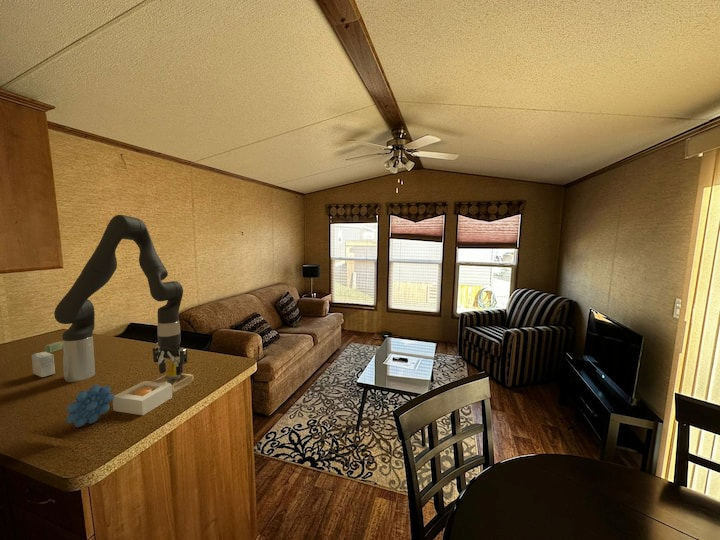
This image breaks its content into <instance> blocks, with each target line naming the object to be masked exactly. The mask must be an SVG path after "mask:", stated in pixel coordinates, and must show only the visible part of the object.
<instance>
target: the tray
mask: <svg viewBox="0 0 720 540" xmlns="http://www.w3.org/2000/svg"><path fill="white" fill-rule="evenodd" d="M165 375H166V374H165ZM165 375H162V376H160V377H158V378H156V379H154V380H152V381H151V382H157V383H165V384H171V383H167V380H168V379H164V377H165ZM194 377H195V376H194V374H191V373H189V374H188V373H183V372H182V374H180V378H178V379H177V380H176V381H175V382H174V383H173V384H172V395H174V394H175V393H177V392H179V391H180V390H181V389H183V388H184V387H187V386H188V385H189V384H191V383H192V382H194V379H195V378H194Z"/></svg>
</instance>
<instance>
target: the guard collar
mask: <svg viewBox="0 0 720 540" xmlns="http://www.w3.org/2000/svg"><path fill="white" fill-rule="evenodd" d="M144 387H151V388H152V391H151V392H150V393H148V394H146V395H144V396H137V395H135V391H136V390H138V389H140V388H144ZM172 398H173V394H172V384H165V383H157V382H152V381H150V380H144V381H141V382H138V384H135V385H134V386H132V387H128V388H127V389H125V390H122V391H120V392H119V393H117V394H115V395H114V398H113V400H112V410H113V411H114V412H119V413H125V414H133V415H138V416H144V415H146V414H148V413H149V412H151V411H153V410H154V409H156V408H157V407H159V406H161V405H162V404H164V403H166V402H168V400H170V399H172Z"/></svg>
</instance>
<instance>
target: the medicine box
mask: <svg viewBox="0 0 720 540" xmlns="http://www.w3.org/2000/svg"><path fill="white" fill-rule="evenodd" d="M31 364H32V373H33V374H34V375H36V376H37V377H40V378H45V377H48V376H51V375H55V374H56V370H55V369H56V368H55V367H56V366H55V357H54V354H53V353H47V352H45V351H41V352H37V353H34V354H31Z"/></svg>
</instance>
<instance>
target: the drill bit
mask: <svg viewBox="0 0 720 540" xmlns="http://www.w3.org/2000/svg"><path fill="white" fill-rule="evenodd" d="M166 372H167V373H166V374H165V377H164V379H168V380H167V383H171V384H173V383H174V382H175V381H176V380H177V379H178V378H180V375H179V376H177V375H176V365H175V363H174V362H172V363H171V365H170V366H169V369H168V371H166Z"/></svg>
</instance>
